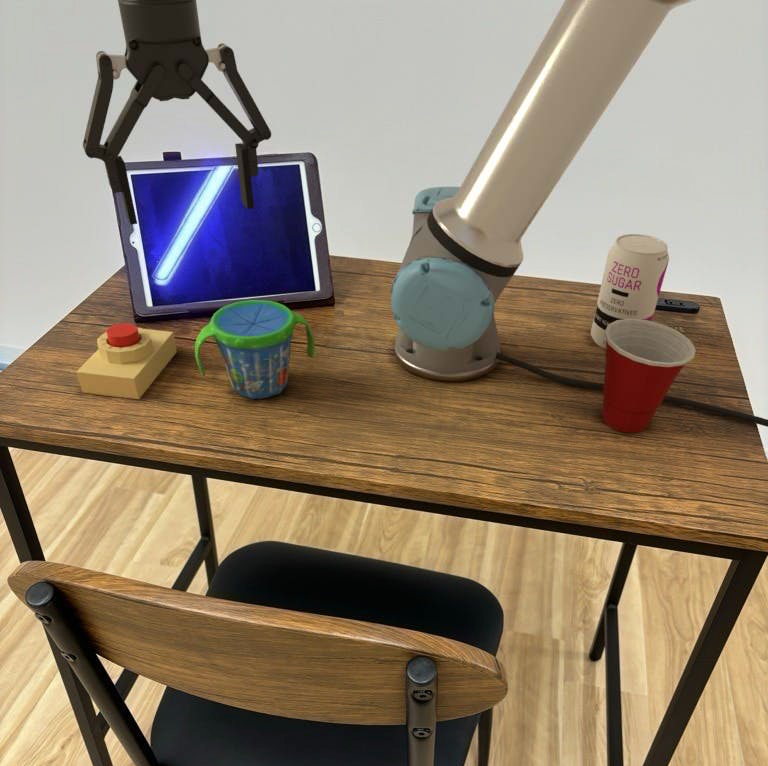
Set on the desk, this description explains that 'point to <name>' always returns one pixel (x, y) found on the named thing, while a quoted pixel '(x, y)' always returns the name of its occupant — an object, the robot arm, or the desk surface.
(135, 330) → the button
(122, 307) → the desk surface
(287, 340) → the snack cup
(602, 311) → the supplement can
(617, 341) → the plastic cup
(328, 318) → the desk surface
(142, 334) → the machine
